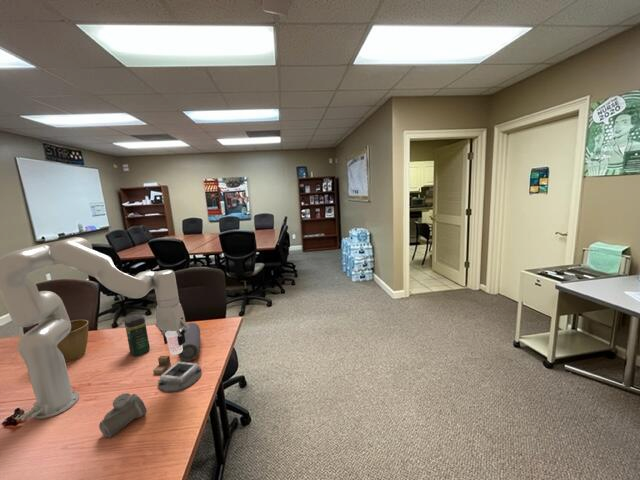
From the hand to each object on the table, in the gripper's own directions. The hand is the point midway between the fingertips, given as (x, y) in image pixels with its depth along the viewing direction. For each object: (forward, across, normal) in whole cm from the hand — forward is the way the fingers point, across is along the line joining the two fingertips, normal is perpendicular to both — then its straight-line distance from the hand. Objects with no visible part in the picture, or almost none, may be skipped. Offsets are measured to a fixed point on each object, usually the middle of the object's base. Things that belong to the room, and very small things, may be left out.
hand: (175, 342), depth 113 cm
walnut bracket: (+16, -13, +4) cm, 21 cm away
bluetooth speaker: (+17, -10, +19) cm, 27 cm away
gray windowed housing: (+16, 0, 0) cm, 16 cm away
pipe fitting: (+17, -2, -24) cm, 29 cm away
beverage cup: (+4, 0, 0) cm, 4 cm away
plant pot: (+16, -65, +4) cm, 67 cm away
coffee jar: (+16, -36, +14) cm, 42 cm away
